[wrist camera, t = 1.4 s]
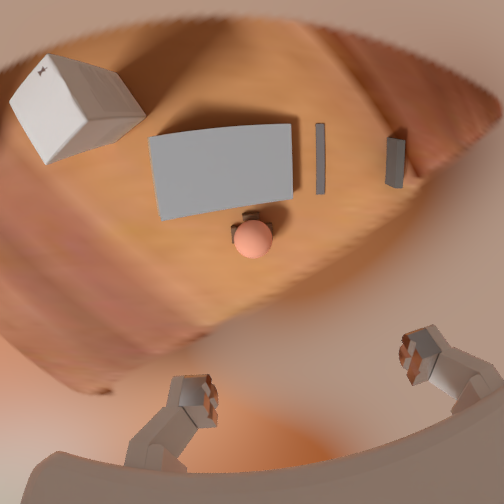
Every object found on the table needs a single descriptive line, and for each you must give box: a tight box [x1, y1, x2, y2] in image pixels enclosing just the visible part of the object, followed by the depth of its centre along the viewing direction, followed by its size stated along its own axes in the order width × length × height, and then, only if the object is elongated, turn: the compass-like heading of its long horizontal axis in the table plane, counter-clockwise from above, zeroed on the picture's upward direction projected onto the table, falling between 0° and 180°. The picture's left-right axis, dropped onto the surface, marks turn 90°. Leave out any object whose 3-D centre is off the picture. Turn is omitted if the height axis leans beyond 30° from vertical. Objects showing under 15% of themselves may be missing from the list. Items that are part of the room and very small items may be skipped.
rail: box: [385, 138, 405, 188], centre depth 25 cm, size 1×5×2 cm, turn 3°
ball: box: [234, 220, 272, 258], centre depth 27 cm, size 4×4×4 cm
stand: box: [231, 212, 273, 243], centre depth 28 cm, size 4×4×1 cm
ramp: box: [147, 124, 293, 221], centre depth 23 cm, size 12×7×4 cm, turn 93°
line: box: [316, 124, 325, 194], centre depth 25 cm, size 1×7×1 cm, turn 3°
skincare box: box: [9, 54, 147, 165], centre depth 16 cm, size 6×4×12 cm
